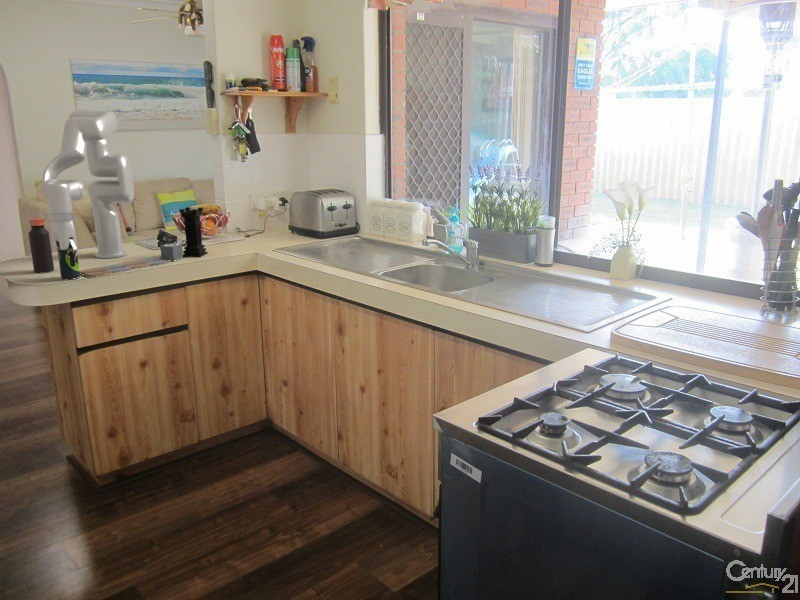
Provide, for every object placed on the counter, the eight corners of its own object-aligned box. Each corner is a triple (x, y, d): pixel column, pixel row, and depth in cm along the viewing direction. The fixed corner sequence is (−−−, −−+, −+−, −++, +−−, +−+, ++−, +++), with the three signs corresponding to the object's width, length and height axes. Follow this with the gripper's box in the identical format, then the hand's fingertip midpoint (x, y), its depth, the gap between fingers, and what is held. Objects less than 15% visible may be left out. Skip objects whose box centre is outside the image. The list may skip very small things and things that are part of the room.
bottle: (31, 271, 246) (23, 219, 241) (50, 268, 251) (42, 217, 245) (38, 274, 242) (29, 221, 236) (57, 271, 246) (49, 219, 241)
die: (161, 260, 266) (160, 245, 264) (171, 257, 271) (169, 243, 269) (174, 261, 264) (172, 246, 262) (183, 258, 269) (181, 244, 268)
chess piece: (207, 253, 279) (204, 207, 274) (200, 257, 272) (196, 210, 266) (190, 253, 280) (186, 207, 275) (182, 256, 272) (178, 209, 267)
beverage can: (58, 278, 236) (52, 237, 231) (76, 275, 240) (71, 235, 236) (64, 281, 231) (59, 240, 227) (82, 278, 236) (77, 237, 232)
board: (77, 273, 242) (77, 271, 242) (154, 259, 267) (154, 257, 266) (91, 277, 237) (90, 275, 236) (168, 263, 261) (168, 260, 260)
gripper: (40, 216, 232) (47, 265, 237) (62, 221, 222) (69, 272, 227) (61, 214, 238) (68, 262, 243) (83, 218, 227) (90, 268, 232)
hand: (68, 266), depth 235 cm, fingers closed on beverage can, 5 cm apart
